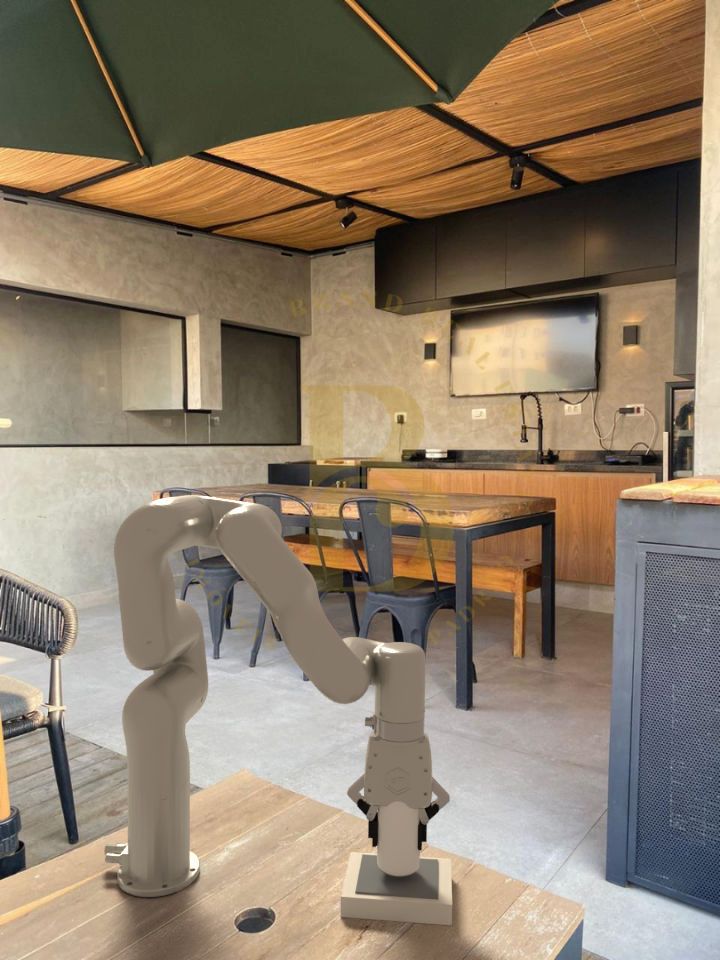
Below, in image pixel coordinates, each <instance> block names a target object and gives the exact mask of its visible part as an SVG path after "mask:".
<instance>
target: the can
mask: <svg viewBox="0 0 720 960" xmlns="http://www.w3.org/2000/svg"><path fill="white" fill-rule="evenodd" d="M377 812H378V838H377V846H376V850H377V851H376V854H377V864H378V867H379V868H380V869H381V871H382V872H384V873H385V874H387V875H390V876H394V877H405V876H409V875H412V874H413V873H415V872H416V871H417V870H418V868H419V865H420V857H421V850H418V825H419V823H420V818H419V815H418V809H412V808H409V807H408V806H407V805H406V804H404V803H403V802H400V801H396V802H393V803H391V804H390V805H389V806H386V807H380V806H379V808H378V810H377Z"/></svg>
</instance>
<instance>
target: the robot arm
mask: <svg viewBox="0 0 720 960" xmlns="http://www.w3.org/2000/svg"><path fill="white" fill-rule="evenodd" d="M282 529H283V528H282V523H281V520H280V517H279V516H278V515H277V514H276V512H275V511H274V510H272V509H271V508H270V507H268V505H267V506H266V505H265V504H260V503H255V502H245V501H237V500H232V499H231V500H230V499H225V498H218V497H211V496H205V495H195V494H189V495H187V494H186V495H179V496H178V495H177V496H169V497H168V496H167V497H164V498H158V499H156V500H153V501H149V502H148V503H145V504H143V505H142V506H140V507H138V508H136V509H135V510H133V512H131V513H130V514H129V515H128V516H127V517H126V518H125V519H124V520H123V522H122V523H121V525H120V526H119V528H118V530H117V533H116V535H115V539H114V545H113V557H114V565H115V572H116V578H117V588H118V603H119V612H120V619H121V620H120V622H121V632H122V643H123V650H124V653H125V655H126V658H127V660H128V661H129V663H130V664H131V665H132V666H134V667H135V668H136V669H138V670H140V671H145V672H147V671H153V673H152V674H151V675H149V676H148V677H147V678H146V679H144V680H142V682H140V683H139V684H138V685H137V686H135V687H134V689H133V690H132V691H131V692H130V693H129V695H128V696H127V698H126V700H125V702H124V705H123V706H122V707H123V708H122V714H121V723H122V730H123V736H124V740H125V746H126V747H125V748H126V749H125V750H126V761H127V762H126V765H127V766H126V768H127V769H126V770H127V772H126V773H127V775H126V776H127V778H126V779H127V781H126V782H127V841H126V842H125V843H119V842H111V841H107V843H106V844H105V845H104V851H103V852H104V855H105V857H104V862H105V863H108V864H119V868H118V870H117V874H116V875H117V877H116V878H117V885H118V886H119V887H120V889H121V890H122V891H124V892H125V893H127V894H129V895H132V896H136V897H141V898H157V897H164V896H167V895H171V894H174V893H176V892H180V891H181V890H183V889H185V888H186V887H188V886H190V885H191V884H192V883H193V882H194V881H195V880H196V879H197V877H198V875H199V873H200V869H201V862H200V859H199V857H198V855H196V854H195V853H194V852H192V851H191V850H190V848H191V839H190V838H191V824H190V823H191V817H190V816H191V810H190V809H191V808H190V807H191V803H190V802H191V789H190V787H191V765H190V764H191V761H190V749H189V745H188V740H187V736H186V725H187V724H188V722H190V720H191V719H192V718H193V717H194V716H195V715H196V714H197V713H198V712H199V711H200V710H201V708H202V707H203V706H204V704H205V702H206V701H207V697H208V694H209V674H208V673H209V672H208V664H207V655H206V645H205V635H204V629H203V628H204V627H203V624H202V619H201V618H200V615H199V614H198V611H197V610H196V609H195V608H194V606H192V604H190V603H189V602H187V601H185V600H183V599H179V598H176V589H175V587H176V586H175V578H174V574H173V570H172V569H171V566H170V564H169V563H170V562H169V557H170V555H172V554H173V553H177V552H178V551H181V550H182V551H183V550H185V549H189V548H191V547H192V548H193V547H194V546H195V547H204V548H211V549H212V548H213V549H218V550H220V552H221V554H222V555H223V556H224V557H225V559H226V560H227V561H228V562H229V564H230V565H231V566H232V567H233V569H234V570H235V571H236V572H237V574H238V575H239V576H240V577H241V578H242V579H243V581H244V582H245V583H246V584H247V585H248V587H249V588H250V589H251V591H252V592H253V593H254V594H255V595H256V597H257V598H258V599H259V601H260V602H261V603H262V604H263V605H264V606H265V608H266V610H267V611H268V612H269V614H270V616H271V618H272V621H273V624H274V626H275V628H276V630H277V632H278V633H279V636H280V638H281V640H282V641H283V644H284V645H285V648H286V649H287V651H288V652H289V654H290V655H291V657H292V659H293V660H294V662H295V664H297V667H298V668H300V670H301V671H302V672H303V673H304V675H305V677H307V679H308V680H309V681H310V682H311V683H312V684H313V686H314V687H315V689H317V691H319V692H320V693H321V694H322V695H323V697H325V698H327V699H328V700H329V701H331V702H333V703H336V704H339V705H349V704H352V703H356V702H357V701H358V700H360V699H362V697H363V696H364V695H365V694H366V693H367V691H368V689H369V687H370V686H373V687H374V714H372V716H369V717H368V716H365V717H364V718H365V719H364V726H365V727H369V728H371V729H372V730H373V731H371V732H370V734H369V736H368V741H367V744H366V745H367V746H366V751H365V752H366V753H365V761H364V762H365V763H364V773H363V774H362V775H361V776H360V777H359V778H358V779H356V780H355V782H353V783H352V784H351V785H350V786H348V789H347V790H346V791H347V792H346V795H347V797H348V798H349V799H350V800H351V801H352V802H353V803H355V805H356V806H357V808H358V809H359V810H360V811H361V813H363V814H364V815H365V817H366V820H367V821H368V823H367V829H368V830H367V833H368V834H367V838H368V839H372V840H371V842H372V843H371V848H377V838H378V808H379V806H380V807H386V806H389V805H390V804H391V803H393V802H396V801H400V802H403V803H404V804H406V805H407V806H408V807H409V808H412V809H418V815H419V818H420V823H419V825H418V850H420V852H421V851H422V850H423V849H422V848H423V843H427V834H428V824H429V822H430V820H431V819H432V818H433V817H435V816H436V815H437V814H438V813H439V812H440V810H441V809H443V808H444V807H446V806H447V805H448V803H450V801H451V799H450V794H449V793H448V792H447V791H446V789H445V788H444V787H443V786H442V785H441V784H440V783H439V782H438V781H437V780H436V779H435V778H434V776H433V760H432V749H431V743H430V739H429V735H428V734H427V733H426V732H425V717H426V716H425V712H426V710H425V708H426V707H425V705H426V704H425V703H426V663H427V662H426V652H425V651H424V649H423V648H422V647H421V646H420V645H418V644H415V643H412V642H406V641H403V642H402V641H398V642H397V641H393V642H383V641H378V640H377V641H376V640H373V639H369V638H364V637H357V636H348V637H345V638H344V637H343V638H342V637H341V636H340V635H339V634H338V632H337V631H336V630H335V628H334V627H333V626H332V624H331V622H330V620H329V619H328V617H327V615H326V613H325V611H324V609H323V607H322V604H321V601H320V596H319V592H318V586H317V583H316V580H315V578H314V576H313V574H312V572H310V571H309V569H308V567H307V566H305V564H304V563H303V562H302V561H301V560H300V559H299V557H298V556H297V555H296V554H295V552H294V551H293V550H292V549H291V548H290V547H289V545H288V544H287V542H286V541H285V540H284V539H283V538H282V533H283V530H282ZM362 790H363V795H362V793H361V791H362ZM433 794H434V795H435V796H436V799H434V800H433V799H432V798H433ZM432 800H433V801H432Z"/></svg>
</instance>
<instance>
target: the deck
mask: <svg viewBox="0 0 720 960" xmlns="http://www.w3.org/2000/svg"><path fill="white" fill-rule="evenodd" d="M452 891H453V890H452V858H447V857H446V858H442V857H431V856H430V857H429V856H420V865H419V868H418V870H417V871H416V872H415V873H413V874H412V875H409V876H405V877H394V876H390V875H387V874H385V873H384V872H382V871H381V869H380V868H379V867H378V864H377V853H372V852H355V851H350V854H349V859H348V862H347V866H346V872H345V876H344V881H343V885H342V890H341V895H340V918H350V919H363V920H377V921H387V922H388V921H389V922H402V923H403V922H404V923H415V924H427V925H439V926H441V925H442V926H453V892H452Z"/></svg>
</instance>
